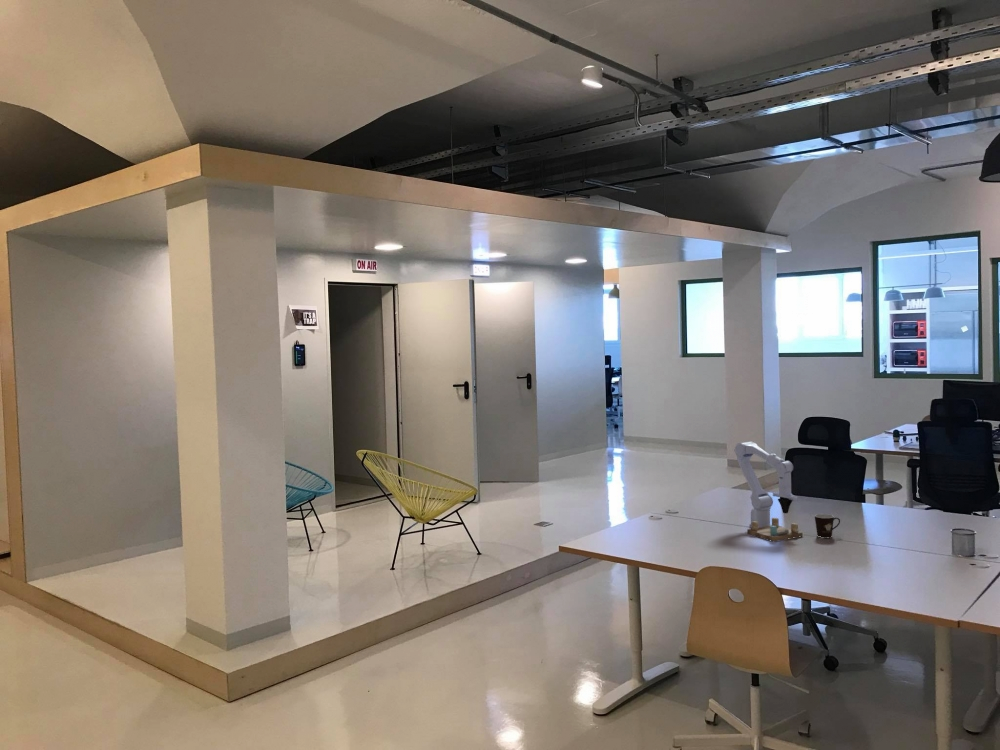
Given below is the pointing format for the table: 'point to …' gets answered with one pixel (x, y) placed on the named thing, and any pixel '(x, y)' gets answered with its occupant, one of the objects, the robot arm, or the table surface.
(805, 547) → the table surface
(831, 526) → the coffee mug
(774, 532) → the folding leg
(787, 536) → the stool seat
